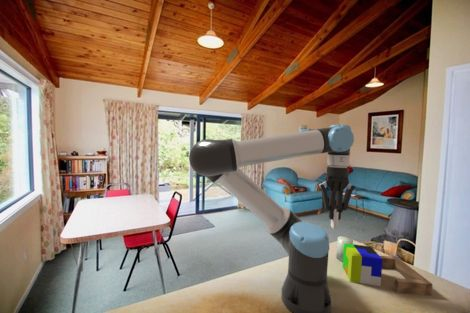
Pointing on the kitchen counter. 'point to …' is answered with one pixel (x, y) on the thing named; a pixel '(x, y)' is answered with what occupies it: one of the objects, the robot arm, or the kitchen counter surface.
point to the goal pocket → (407, 277)
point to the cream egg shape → (342, 246)
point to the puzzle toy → (362, 264)
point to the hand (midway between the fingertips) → (334, 227)
